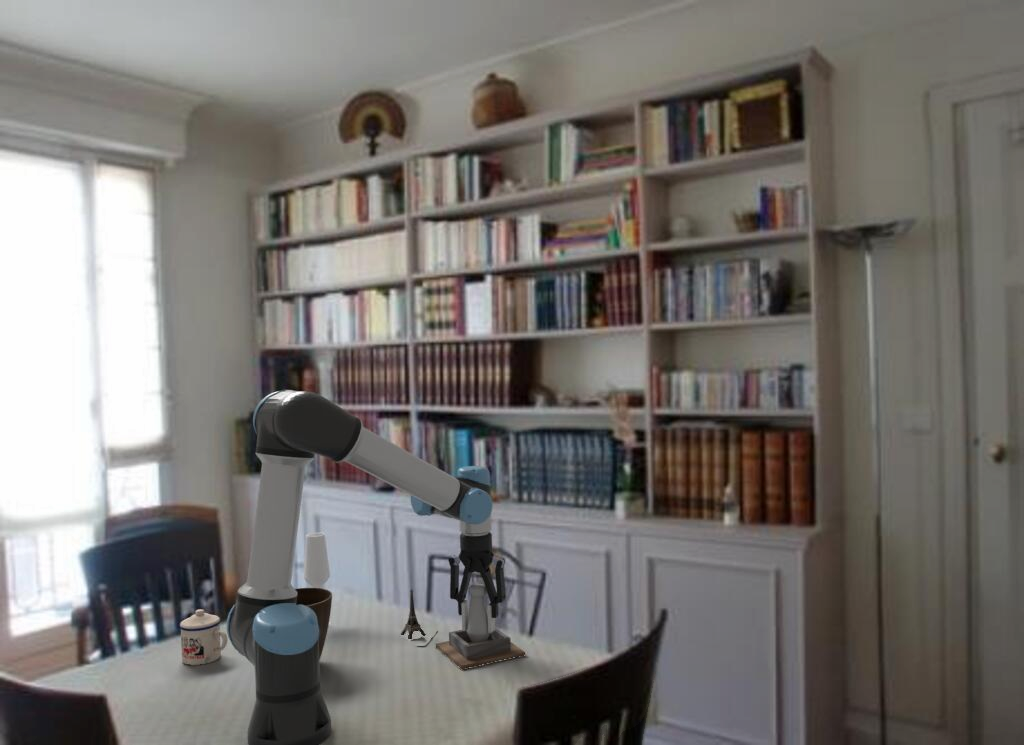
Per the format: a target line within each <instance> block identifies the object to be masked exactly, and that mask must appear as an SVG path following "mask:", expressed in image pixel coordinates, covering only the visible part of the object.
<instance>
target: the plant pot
mask: <svg viewBox="0 0 1024 745" xmlns="http://www.w3.org/2000/svg"><path fill="white" fill-rule="evenodd" d="M294 589H295V590H296V591H297V602H296V605H300V604H301V605H304V606H307V607H309V608H310V609H312V610H313V611H314V612H315V614H316V616H317V622H318V626H319V662H320V660H321V658H322V654H323V650H324V647H325V643H326V639H327V635H328V629H329V626H328V625H329V621H330V618H331V613H332V612H331V611H332V600H333V592H332V591H331V590H329V589H327V588H326V589H325V588H322V587H321V588H313V587H300V588H294Z"/></svg>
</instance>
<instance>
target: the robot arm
mask: <svg viewBox="0 0 1024 745" xmlns="http://www.w3.org/2000/svg"><path fill="white" fill-rule="evenodd" d="M252 424H253V429H254V432H255V434H256V436H257V440H256V447H255V455H256V457H257V458H258V459H259V461H260V462H261V467H260V468H261V470H260V477H259V484H258V494H257V499H256V500H257V501H256V508H255V509H256V510H255V516H254V522H253V524H254V525H253V532H252V538H251V540H252V541H251V546H250V547H251V548H250V555H249V556H250V557H249V563H248V571H247V579H246V582H245V583H244V584H243V585H242V586H240V587H239V588H238V589H237V595H236V601H235V602H236V603H235V604H233V605H232V607H231V608H230V611H229V612H228V614H227V615H228V616H227V619H226V634H227V635H228V636H227V638H228V639H229V641H230V643H231V645H232V646H233V648H234V650H236V651H237V652H238V653H239V654H240V655H242V656H243V657H245V658H246V659H247V660H248V661H249V662H250V663H251V664H252V665H253V667H254V676H255V702H254V706H253V710H252V713H251V716H250V720H249V723H248V727H247V733H246V734H247V745H320V744H322V743H323V742H325V741H326V740H327V739H328V738H329V737H330V736H331V733H332V717H331V714H330V712H329V709H328V707H327V704H326V702H325V698H324V696H323V693H322V690H321V672H320V671H321V670H320V668H321V667H320V665H321V664H320V661H319V626H318V622H317V616H316V614H315V612H314V611H313V610H312V609H310V608H309V607H307V606H304V605H301V604H300V605H296V602H297V591H296V590H295V589H296V588H295V587H293V585H292V578H293V571H294V563H295V562H294V561H295V554H296V545H297V539H298V538H297V537H298V532H299V531H298V529H299V528H298V527H299V523H300V513H301V506H302V498H303V490H304V482H305V473H306V467H307V466H308V465H309V464H311V463H312V461H314V460H315V455H318V456H320V457H323V458H325V459H326V458H327V459H328V460H330V461H333V462H334V463H336V464H338V463H342V462H345V463H347V464H349V465H350V466H351V465H352V466H353V467H355V468H358V469H359V470H361V471H363V472H365V473H367V474H368V475H371V476H373V477H375V478H377V479H379V480H381V481H383V482H385V483H386V484H388V485H390V486H392V487H393V488H397V489H398V490H400V491H403V492H405V493H406V494H408V495H409V496H410V503H411V504H410V505H411V507H412V510H413V512H414V513H415V514H416V515H417V516H420V517H422V516H424V517H425V516H428V517H430V516H432V515H438V516H442V517H445V518H449V519H453V520H456V521H459V532H460V535H459V546H460V547H459V548H460V552H459V554H458V555H453V556H451V557H449V558H448V563H449V567H450V572H449V573H450V577H449V578H450V579H449V583H450V584H449V598H450V599H451V600H455V601H456V602H457V611H458V612H457V613H458V616H461V630H462V631H466V628H467V622H468V615H469V609H470V602H469V601H470V600H469V599H466V598H467V593H468V591H469V587H470V581H471V578H472V575H473V573H478V574H480V577H481V578H482V580H483V583H484V584H483V585H485V587H486V590H487V594H486V595H487V596H488V599H489V602H490V603H488V604H486V607H487V612H488V633H492V632H493V631H494V630H495V628H496V618H498V616H499V604H502V603H503V602H504V601H505V600H506V598H507V594H506V584H505V582H506V581H505V573H504V568H505V563H506V559H505V558H502V557H501V558H499V557H496V556H495V554H494V552H493V533H492V532H491V531H492V511H493V500H492V496H491V495H492V494H491V492H492V491H491V487H492V484H491V475H490V470H489V469H488V467H485V466H482V465H471V466H468V465H467V466H462V467H460V468H458V470H457V475H456V477H454V476H453V475H451V474H450V473H447V472H445V471H444V470H442V469H440V468H438V467H437V466H435V465H433V464H431V463H429V462H427V461H425V460H424V459H422V458H420V457H418V456H417V455H415V454H414V453H411V452H409V451H408V450H405V449H404V448H402V447H400V446H399V445H397V444H395V443H393V442H392V441H389V440H387V439H386V438H385V437H383V436H381V435H378V434H377V433H375V432H374V431H372V430H370V429H368V428H366V427H365V426H364V424H363V421H362V420H361V419H360V418H359V417H356V416H355V415H353V414H352V413H350V412H348V411H346V409H343V408H342V407H340V406H339V405H337V404H335V403H334V402H333V401H331V400H330V399H328V398H326V397H324V396H322V395H320V394H318V393H315V392H313V391H305V390H303V391H300V390H293V389H282V390H278V391H275V392H272V393H269V394H268V395H266V396H265V397H263V398H262V399H261V400H260V401H259V402H258V404H257V405H256V407H255V410H254V412H253V417H252ZM460 563H462V566H463V567H464V568H463V573H462V580H461V583H460ZM491 564H493V567H494V568H495V570H494V574H495V575H494V577H495V583H494V580H493V577H492V573H491V572H492V571H491V567H490V566H491Z"/></svg>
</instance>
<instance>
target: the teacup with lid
mask: <svg viewBox="0 0 1024 745" xmlns="http://www.w3.org/2000/svg"><path fill="white" fill-rule="evenodd" d="M220 624H221V618H220V617H219V616H218V615H215V614H210V613H207V612H205V610H204V609H196V610H195V613H194V614H192V615H190V617H188V618H185V619H184V620H181V621H180V624H179V629H180V641H181V646H180V647H181V661H182V663H183V664H185V665H187V664H190V665H189V666H201V665H200V664H202V665H206V663H207V664H210V663H213V662H215V661H217V660H218V659H219V658H220V657H221V655H222V651H224V649H225V648H226V647H227V644H228V636H227V635H228V634H227V632H225V631H223V630H222V629H221V627H220V626H221V625H220ZM221 638H222V644H221Z"/></svg>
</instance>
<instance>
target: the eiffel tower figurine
mask: <svg viewBox="0 0 1024 745" xmlns="http://www.w3.org/2000/svg"><path fill="white" fill-rule="evenodd" d="M410 588H411V589H410V591H409V592H410V597H409V598H410V600H409V601H410V603H409V604H410V606H409V615H408V618H407V622H406V623H405V624H404V625H405V626H404V628H403V630H402V631H401V632H400V634H401V635H404V634H406V633H409V635H408V639H412V634H413V632H414V631H419V632H421V634H422V635H423V636H425V635H426V634H425V633H424V631H423V630H422V629H421V628H422V627H421V624H420V623H419V621H418V618H417V614H416V611H415V602H414V594H413V593H414V590H413V589H412V588H413V587H412V585H411V586H410Z"/></svg>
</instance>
